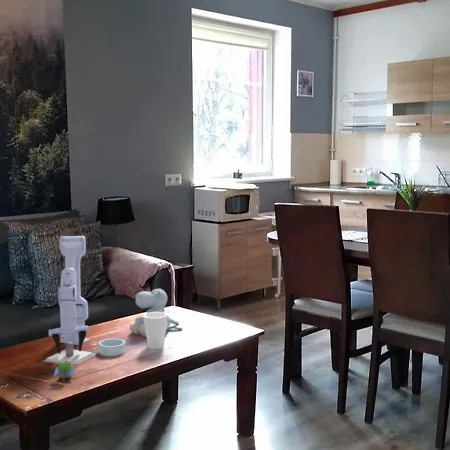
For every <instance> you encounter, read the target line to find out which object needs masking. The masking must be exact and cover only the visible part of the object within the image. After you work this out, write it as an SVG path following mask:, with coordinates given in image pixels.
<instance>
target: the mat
mask: <svg viewBox="0 0 450 450" xmlns="http://www.w3.org/2000/svg"><path fill="white" fill-rule="evenodd" d="M96 355H97V354H96V353H92V355H91V356H89V357H87V358H85V359H83V360H81V361H79V362H77V363H76V364H74V366H75V367H76V366H77V365H78V364H81V363H82V362H84V361H86V360H88V359H90V358H91V357H94V356H96ZM43 362H46V363H51V364H56V365H57V364H64V363H59V362H53V361H47V358H46V359H44V360H43Z"/></svg>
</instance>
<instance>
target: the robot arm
mask: <svg viewBox="0 0 450 450" xmlns="http://www.w3.org/2000/svg"><path fill="white" fill-rule="evenodd" d="M86 245H87V241H86V236H85V235H75V236H74V235H73V236H72V235H67V236H66V235H64V236H63V235H61V236H60V237H59V250H60V252H61V254H62V256H63V257H64V269H63V270H62V271H61V276H60V277H61V278H60V286H59V287H58V288H57V298H58V306H59V314H60V316H59V317H60V327H56V328H53V329H48V336H49V337H52V340H53V341H54V343H55V345H56V349H57V353H58V354H60V352H61V346H60V344H61V343H62V344H63V343H64V344H65V343H66V342H69V341H72V342H73V345H76V346H78V350H79V351H82V347H83V344H84V343H86V342H88V341H90V340H91V339H90V338H89V337H88V338H86V337H87V333H89V332H90V330H89V325H86V320H87V319H89V306H88V300H86V299H85V298H84V297H82V296H81V295H82V294H81V293H82V291H81V261H82V257H84V256H86V253H87V251H86V250H87V246H86Z"/></svg>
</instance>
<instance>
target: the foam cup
mask: <svg viewBox="0 0 450 450" xmlns="http://www.w3.org/2000/svg"><path fill="white" fill-rule="evenodd" d="M164 312H165V311H164ZM164 312H149V313H147V312H146V313H144V314H143V315H142V317H143V321H144V324H145V330H146V337H145V338H146V342H147V347H148V349H151V350H158V349H163V348H164V347H165V339H166V334H165V332H166V333H167V331H166V323H167V315H168V314H167V312H165V313H164Z"/></svg>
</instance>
